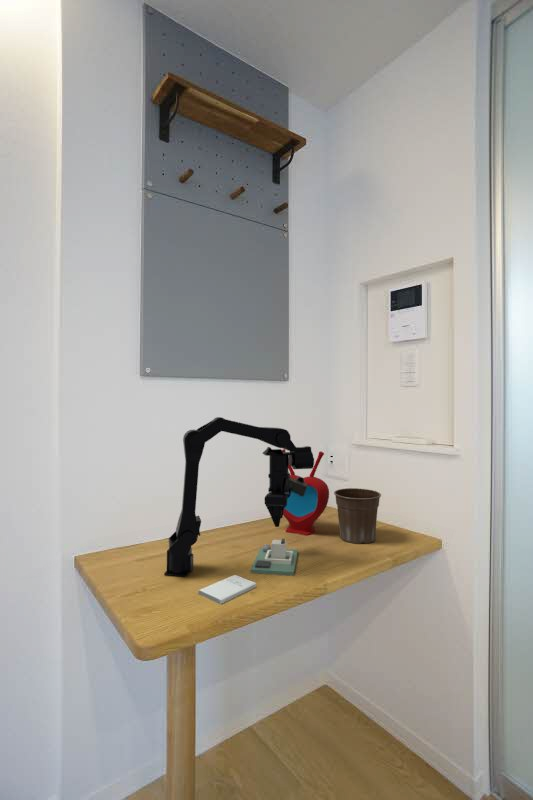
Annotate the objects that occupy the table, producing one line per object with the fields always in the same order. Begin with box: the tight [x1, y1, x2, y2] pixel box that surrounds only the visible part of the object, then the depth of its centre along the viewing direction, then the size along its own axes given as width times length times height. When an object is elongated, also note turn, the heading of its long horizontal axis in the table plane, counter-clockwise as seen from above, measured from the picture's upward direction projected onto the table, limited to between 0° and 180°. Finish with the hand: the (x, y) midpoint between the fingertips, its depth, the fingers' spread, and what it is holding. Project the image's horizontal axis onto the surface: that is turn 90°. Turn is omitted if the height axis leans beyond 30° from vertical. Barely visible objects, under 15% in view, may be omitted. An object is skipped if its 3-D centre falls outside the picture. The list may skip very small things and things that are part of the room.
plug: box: [270, 538, 287, 559], centre depth 123 cm, size 4×4×6 cm
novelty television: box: [281, 448, 330, 536], centre depth 155 cm, size 21×13×30 cm, turn 62°
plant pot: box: [333, 487, 382, 545], centre depth 145 cm, size 16×16×16 cm
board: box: [250, 544, 299, 577], centre depth 123 cm, size 12×18×3 cm, turn 172°
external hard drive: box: [197, 574, 257, 605], centre depth 104 cm, size 2×8×12 cm
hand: (278, 522), depth 123 cm, fingers open, 9 cm apart
